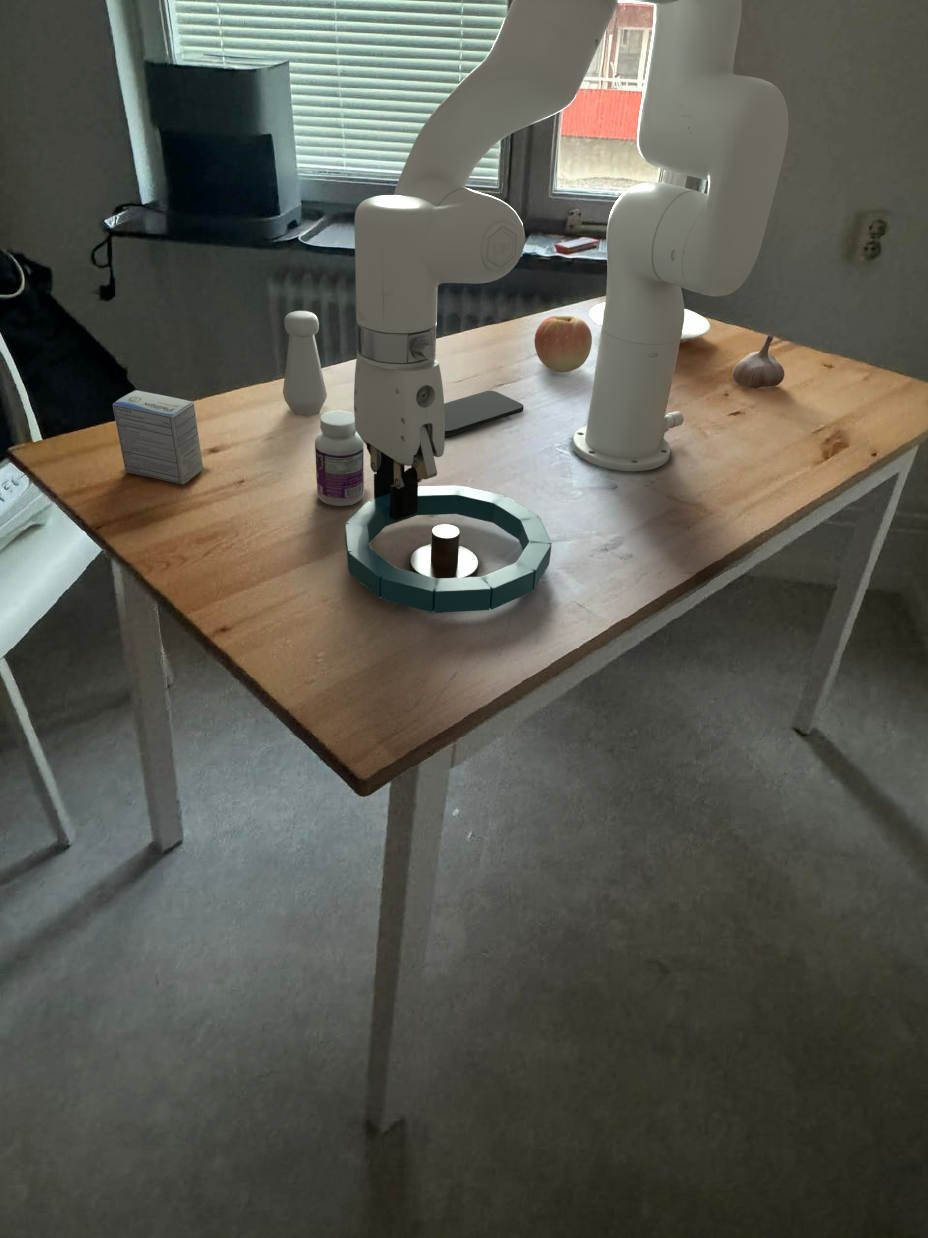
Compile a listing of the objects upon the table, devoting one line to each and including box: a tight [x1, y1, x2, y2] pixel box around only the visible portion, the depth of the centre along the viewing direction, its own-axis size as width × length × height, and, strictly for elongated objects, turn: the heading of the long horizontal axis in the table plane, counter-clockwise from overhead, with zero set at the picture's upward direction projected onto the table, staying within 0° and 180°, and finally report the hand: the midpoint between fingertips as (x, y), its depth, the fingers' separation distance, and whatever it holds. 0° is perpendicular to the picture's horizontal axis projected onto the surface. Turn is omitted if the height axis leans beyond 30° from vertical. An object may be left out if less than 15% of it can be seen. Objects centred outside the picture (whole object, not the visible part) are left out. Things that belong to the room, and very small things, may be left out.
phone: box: [444, 390, 525, 437], centre depth 121 cm, size 7×1×15 cm
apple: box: [533, 315, 593, 373], centre depth 136 cm, size 9×9×8 cm
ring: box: [344, 484, 552, 614], centre depth 89 cm, size 20×20×2 cm
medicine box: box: [112, 390, 204, 486], centre depth 101 cm, size 8×4×9 cm, turn 71°
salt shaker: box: [282, 310, 328, 418], centre depth 116 cm, size 6×6×13 cm
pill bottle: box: [314, 409, 365, 507], centre depth 98 cm, size 5×5×10 cm
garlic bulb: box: [732, 334, 785, 390], centre depth 135 cm, size 8×7×8 cm
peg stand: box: [409, 523, 479, 579], centre depth 89 cm, size 7×7×4 cm
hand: (395, 508), depth 95 cm, fingers closed on ring, 2 cm apart
